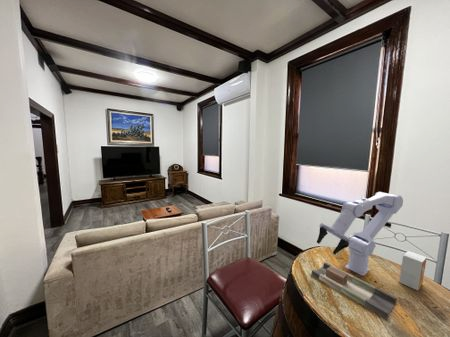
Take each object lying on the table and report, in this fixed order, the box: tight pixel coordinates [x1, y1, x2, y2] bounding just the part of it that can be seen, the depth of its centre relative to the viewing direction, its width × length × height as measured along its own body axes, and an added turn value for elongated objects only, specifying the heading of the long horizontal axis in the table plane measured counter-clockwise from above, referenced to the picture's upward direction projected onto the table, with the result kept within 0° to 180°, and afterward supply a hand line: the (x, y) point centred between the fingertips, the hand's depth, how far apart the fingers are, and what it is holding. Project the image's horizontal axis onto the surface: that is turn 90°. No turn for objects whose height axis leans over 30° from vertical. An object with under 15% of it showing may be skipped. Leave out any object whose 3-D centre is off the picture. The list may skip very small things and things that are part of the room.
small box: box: [398, 250, 427, 291], centre depth 83 cm, size 8×6×13 cm
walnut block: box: [326, 264, 348, 286], centre depth 82 cm, size 5×7×4 cm
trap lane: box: [311, 261, 398, 320], centre depth 78 cm, size 13×27×2 cm, turn 36°
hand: (325, 248), depth 84 cm, fingers open, 7 cm apart
